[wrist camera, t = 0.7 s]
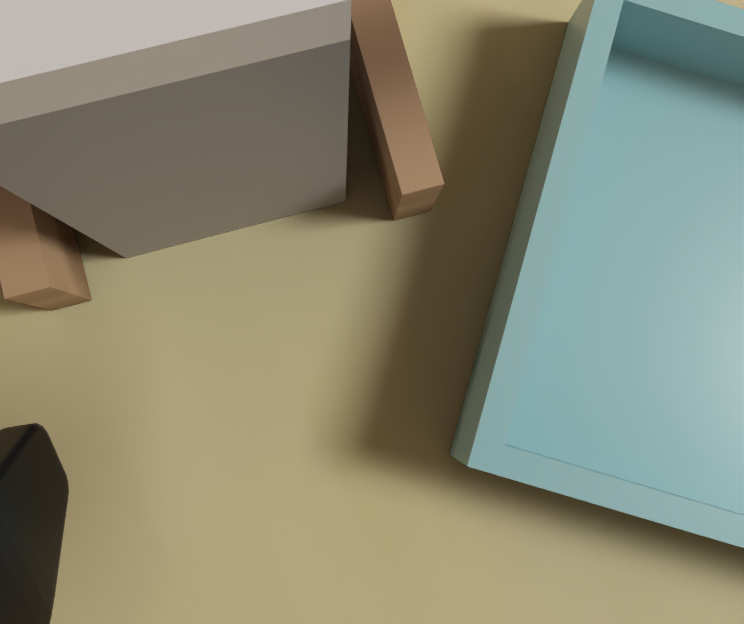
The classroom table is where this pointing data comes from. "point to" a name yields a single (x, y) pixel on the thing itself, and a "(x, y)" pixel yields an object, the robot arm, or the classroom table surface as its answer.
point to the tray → (626, 277)
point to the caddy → (173, 113)
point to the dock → (386, 130)
